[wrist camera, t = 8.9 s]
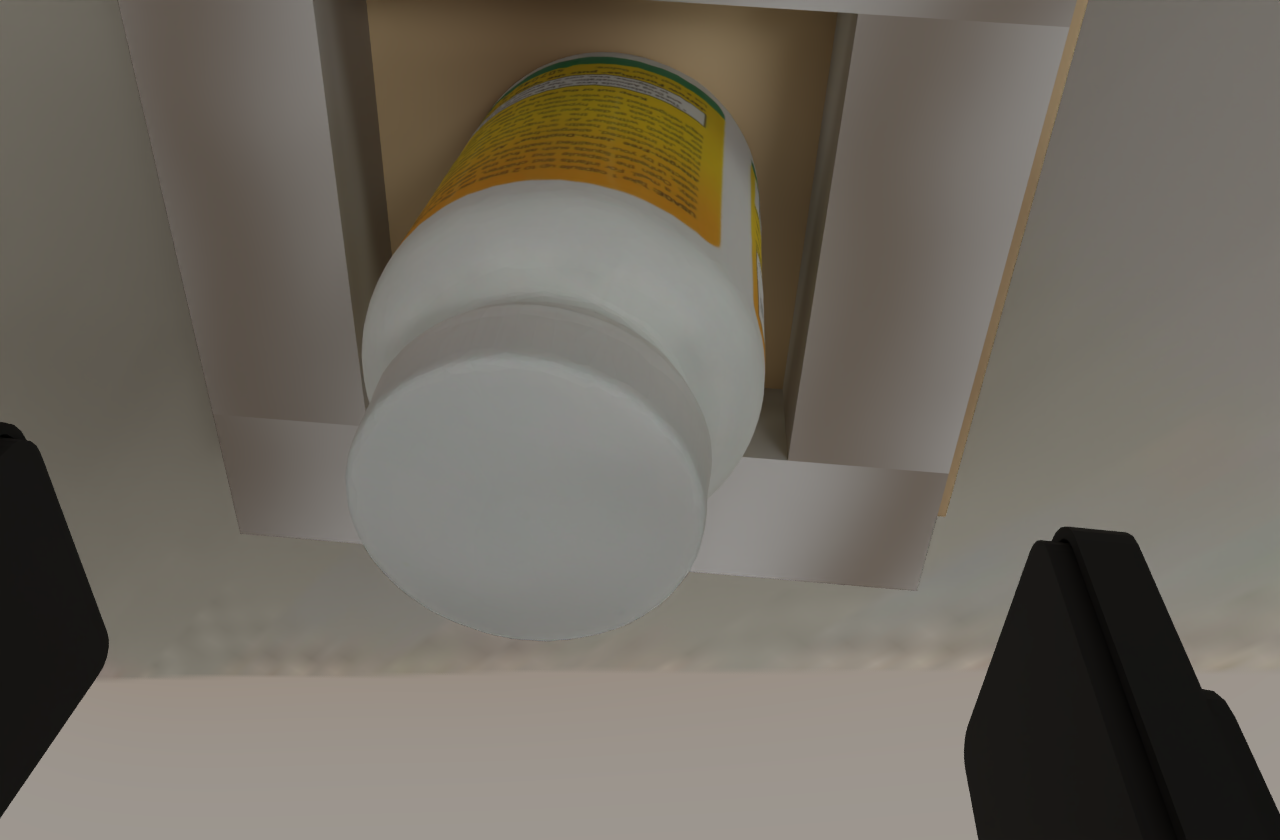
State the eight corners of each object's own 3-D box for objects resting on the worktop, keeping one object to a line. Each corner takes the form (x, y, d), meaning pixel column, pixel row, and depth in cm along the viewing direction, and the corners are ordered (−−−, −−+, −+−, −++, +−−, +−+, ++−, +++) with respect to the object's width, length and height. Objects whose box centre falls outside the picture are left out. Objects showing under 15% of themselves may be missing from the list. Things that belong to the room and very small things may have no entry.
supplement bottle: (807, 241, 19) (857, 599, 11) (573, 358, 21) (476, 736, 13) (662, -21, 17) (599, 202, 9) (412, 137, 19) (178, 437, 11)
